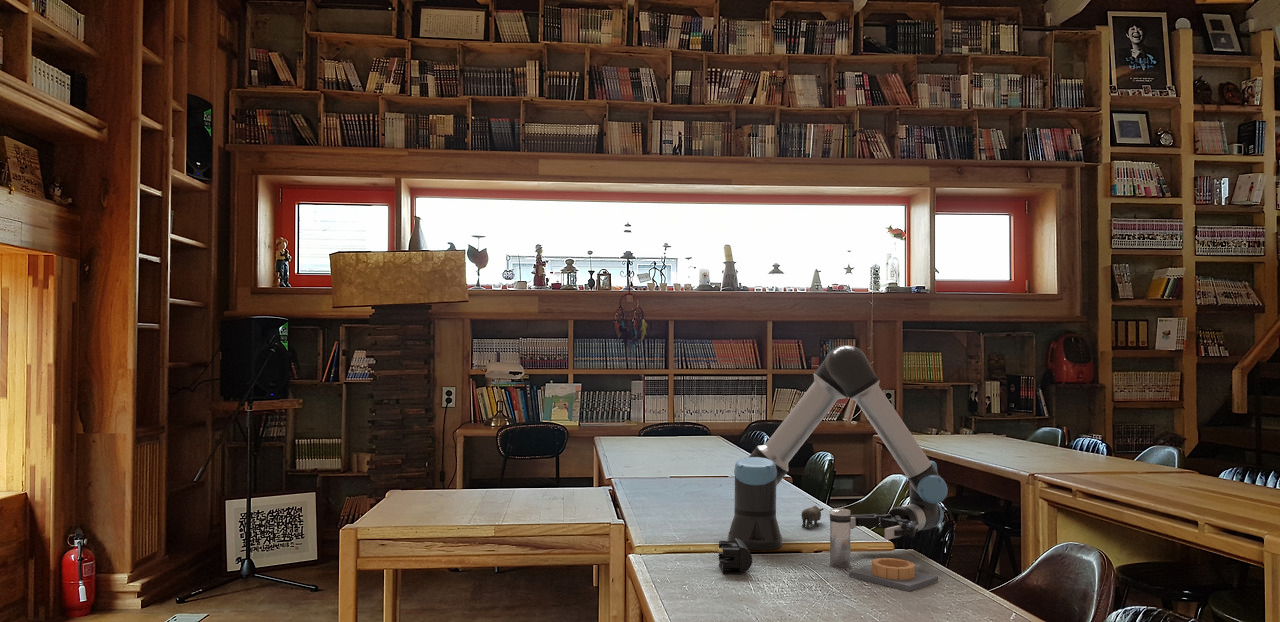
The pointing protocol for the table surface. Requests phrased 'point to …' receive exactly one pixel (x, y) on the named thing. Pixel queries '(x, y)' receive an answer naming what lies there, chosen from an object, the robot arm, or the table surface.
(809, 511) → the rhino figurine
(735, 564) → the end cap
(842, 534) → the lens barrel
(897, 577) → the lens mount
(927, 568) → the table surface
